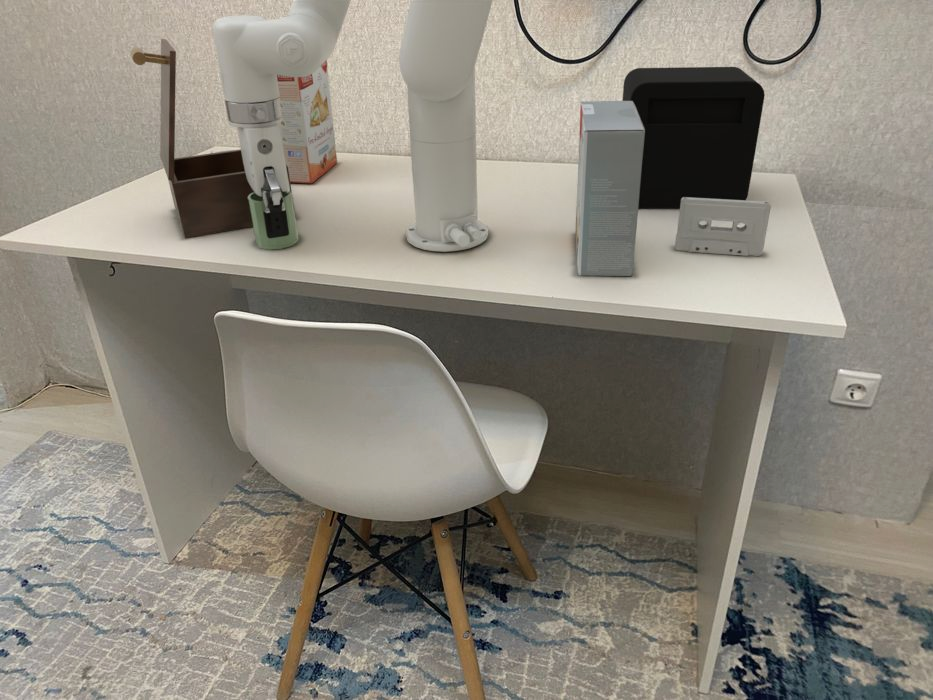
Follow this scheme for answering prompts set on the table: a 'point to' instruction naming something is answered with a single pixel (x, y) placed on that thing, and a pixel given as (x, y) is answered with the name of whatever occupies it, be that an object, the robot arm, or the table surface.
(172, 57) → the chest lid
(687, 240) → the cassette
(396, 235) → the table surface
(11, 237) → the table surface
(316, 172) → the cracker box
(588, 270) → the hard drive box
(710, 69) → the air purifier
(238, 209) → the chest
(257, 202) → the cup
